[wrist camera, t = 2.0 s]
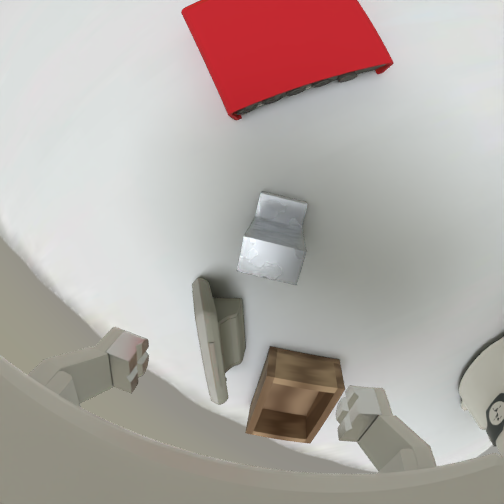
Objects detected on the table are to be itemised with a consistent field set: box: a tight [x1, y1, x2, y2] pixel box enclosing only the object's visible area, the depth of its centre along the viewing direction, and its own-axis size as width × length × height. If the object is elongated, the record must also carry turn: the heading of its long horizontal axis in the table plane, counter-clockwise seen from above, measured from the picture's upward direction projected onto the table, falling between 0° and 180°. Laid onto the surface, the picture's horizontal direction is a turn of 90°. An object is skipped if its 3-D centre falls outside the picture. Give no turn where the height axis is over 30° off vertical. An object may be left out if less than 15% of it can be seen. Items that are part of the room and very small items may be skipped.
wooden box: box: [246, 346, 345, 443], centre depth 36 cm, size 10×13×6 cm
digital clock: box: [192, 278, 246, 405], centre depth 33 cm, size 14×8×9 cm, turn 171°
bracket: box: [237, 191, 308, 285], centre depth 28 cm, size 5×8×10 cm, turn 168°
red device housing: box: [181, 0, 393, 120], centre depth 23 cm, size 18×14×5 cm
